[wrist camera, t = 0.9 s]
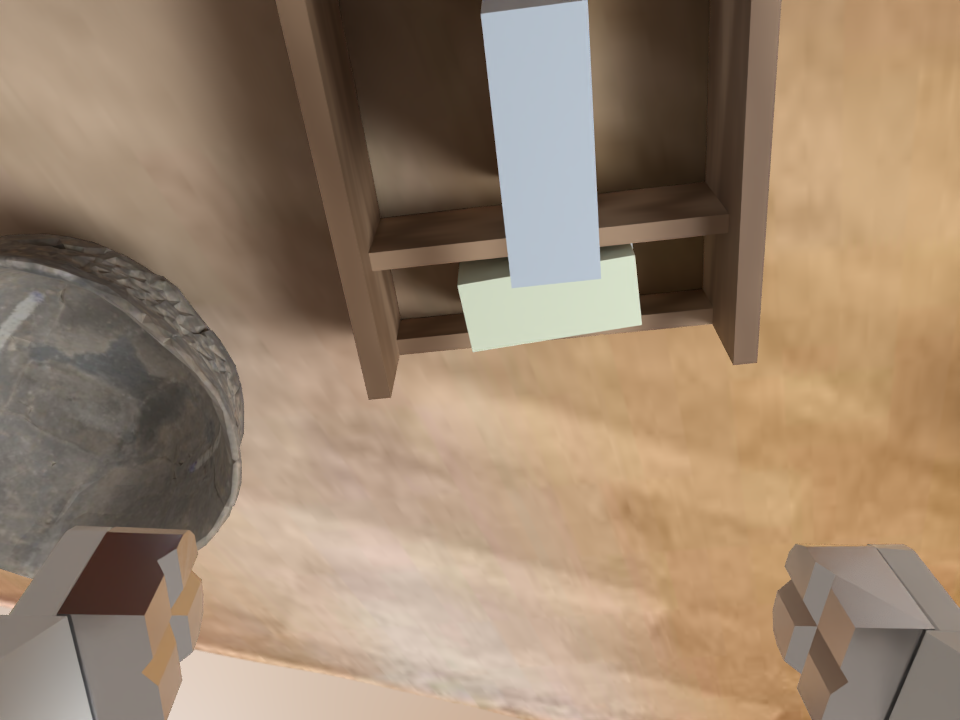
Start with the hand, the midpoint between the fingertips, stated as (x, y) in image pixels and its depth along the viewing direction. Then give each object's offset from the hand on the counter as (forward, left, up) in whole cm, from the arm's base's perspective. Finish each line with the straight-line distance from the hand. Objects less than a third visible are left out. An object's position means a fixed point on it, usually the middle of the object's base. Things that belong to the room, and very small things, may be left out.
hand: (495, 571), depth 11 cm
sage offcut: (-2, +10, -31) cm, 33 cm away
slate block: (-2, 0, -34) cm, 34 cm away
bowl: (+25, +13, -34) cm, 45 cm away
